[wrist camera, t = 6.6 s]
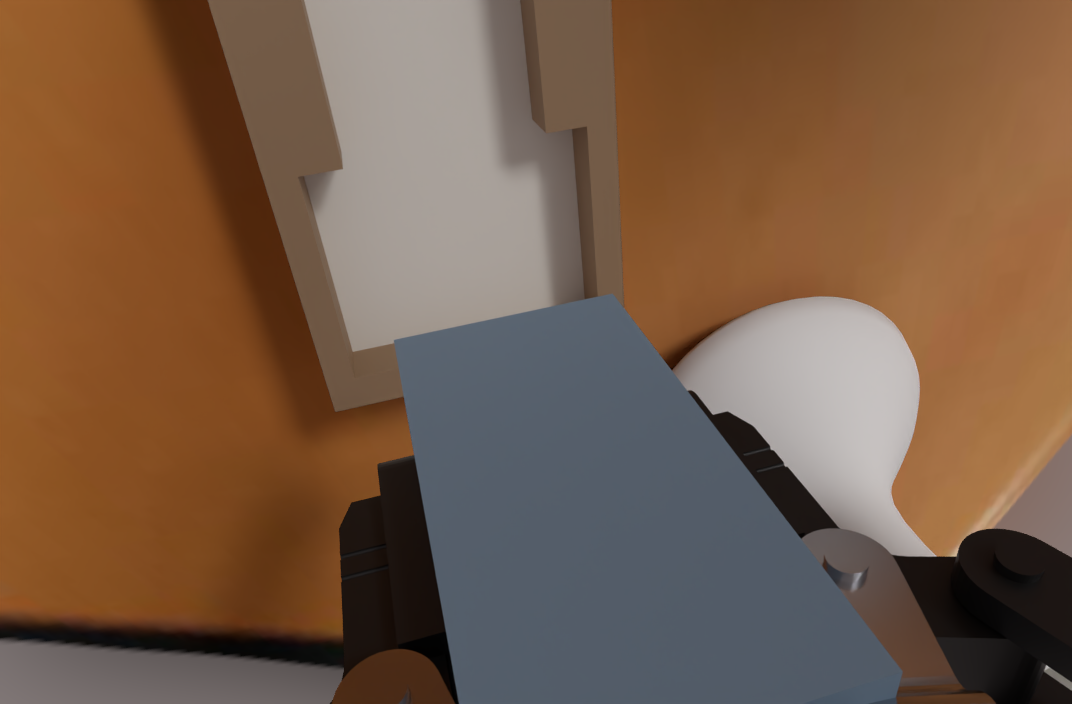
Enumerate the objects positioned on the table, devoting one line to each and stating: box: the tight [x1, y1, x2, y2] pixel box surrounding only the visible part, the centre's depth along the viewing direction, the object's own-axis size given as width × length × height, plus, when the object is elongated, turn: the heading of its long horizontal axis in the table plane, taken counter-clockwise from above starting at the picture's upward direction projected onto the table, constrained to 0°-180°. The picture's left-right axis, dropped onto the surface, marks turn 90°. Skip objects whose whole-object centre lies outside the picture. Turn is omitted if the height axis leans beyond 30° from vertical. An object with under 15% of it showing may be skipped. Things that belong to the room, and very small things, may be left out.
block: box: [394, 294, 903, 704], centre depth 11 cm, size 4×4×8 cm
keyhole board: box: [208, 0, 624, 412], centre depth 19 cm, size 9×15×3 cm, turn 6°
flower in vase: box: [672, 297, 1072, 690], centre depth 20 cm, size 13×11×25 cm
